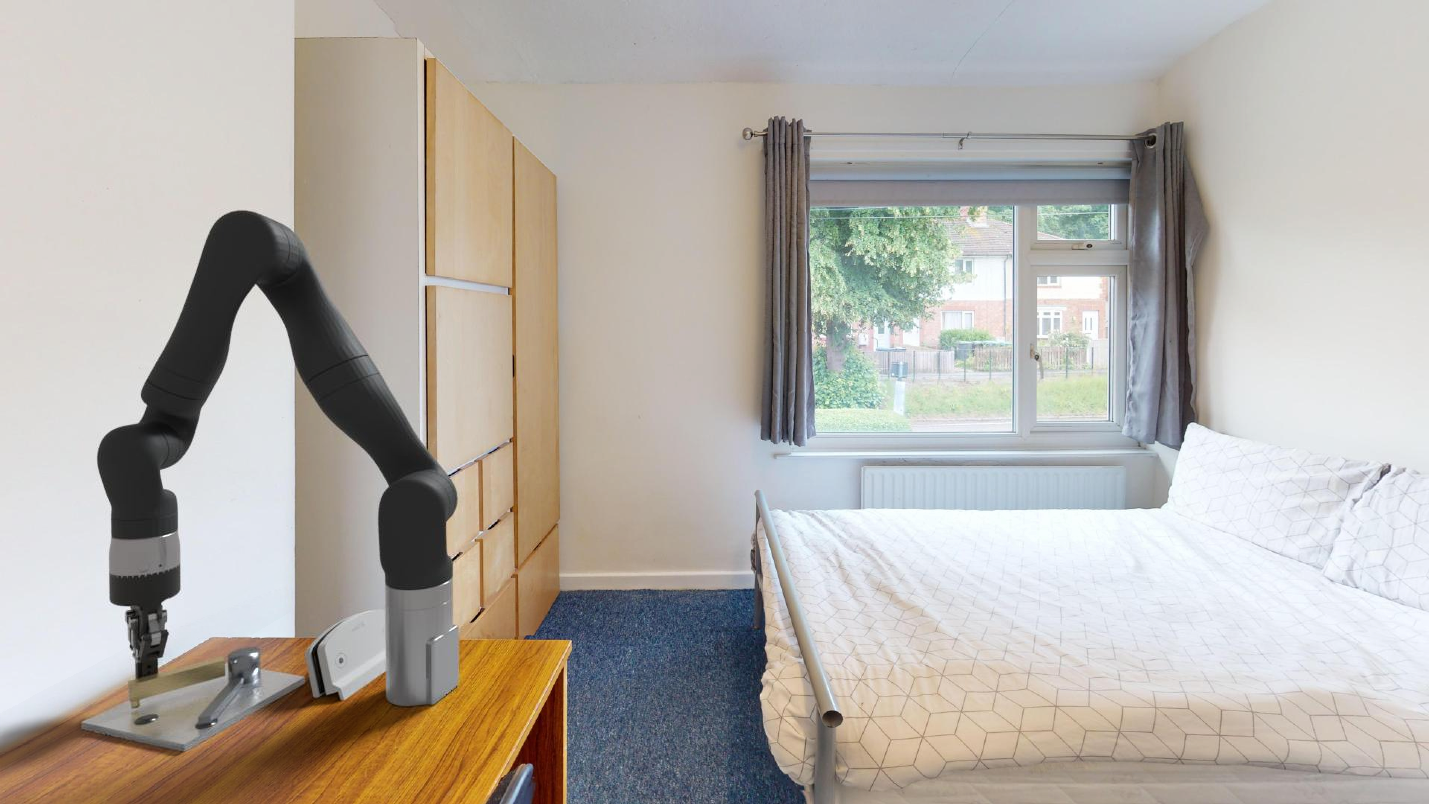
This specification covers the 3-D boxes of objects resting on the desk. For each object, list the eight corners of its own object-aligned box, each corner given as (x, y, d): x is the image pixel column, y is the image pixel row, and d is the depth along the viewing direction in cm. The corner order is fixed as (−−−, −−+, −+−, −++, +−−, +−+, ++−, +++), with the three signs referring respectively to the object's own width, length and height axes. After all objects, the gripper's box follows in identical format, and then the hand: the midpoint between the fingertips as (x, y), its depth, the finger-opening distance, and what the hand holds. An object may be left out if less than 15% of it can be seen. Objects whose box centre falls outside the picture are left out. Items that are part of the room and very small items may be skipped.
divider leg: (223, 679, 97) (222, 656, 97) (225, 683, 96) (224, 660, 96) (129, 706, 90) (128, 681, 89) (130, 710, 88) (129, 685, 88)
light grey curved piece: (342, 701, 95) (320, 636, 95) (315, 708, 96) (294, 644, 96) (414, 651, 111) (395, 595, 111) (390, 657, 112) (372, 602, 112)
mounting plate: (305, 683, 100) (304, 651, 99) (184, 751, 82) (183, 713, 82) (214, 667, 104) (213, 636, 103) (81, 729, 86) (79, 693, 86)
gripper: (192, 570, 90) (192, 691, 91) (168, 548, 98) (169, 659, 99) (119, 583, 84) (120, 712, 85) (100, 558, 92) (102, 676, 93)
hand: (146, 683), depth 92 cm, fingers closed
